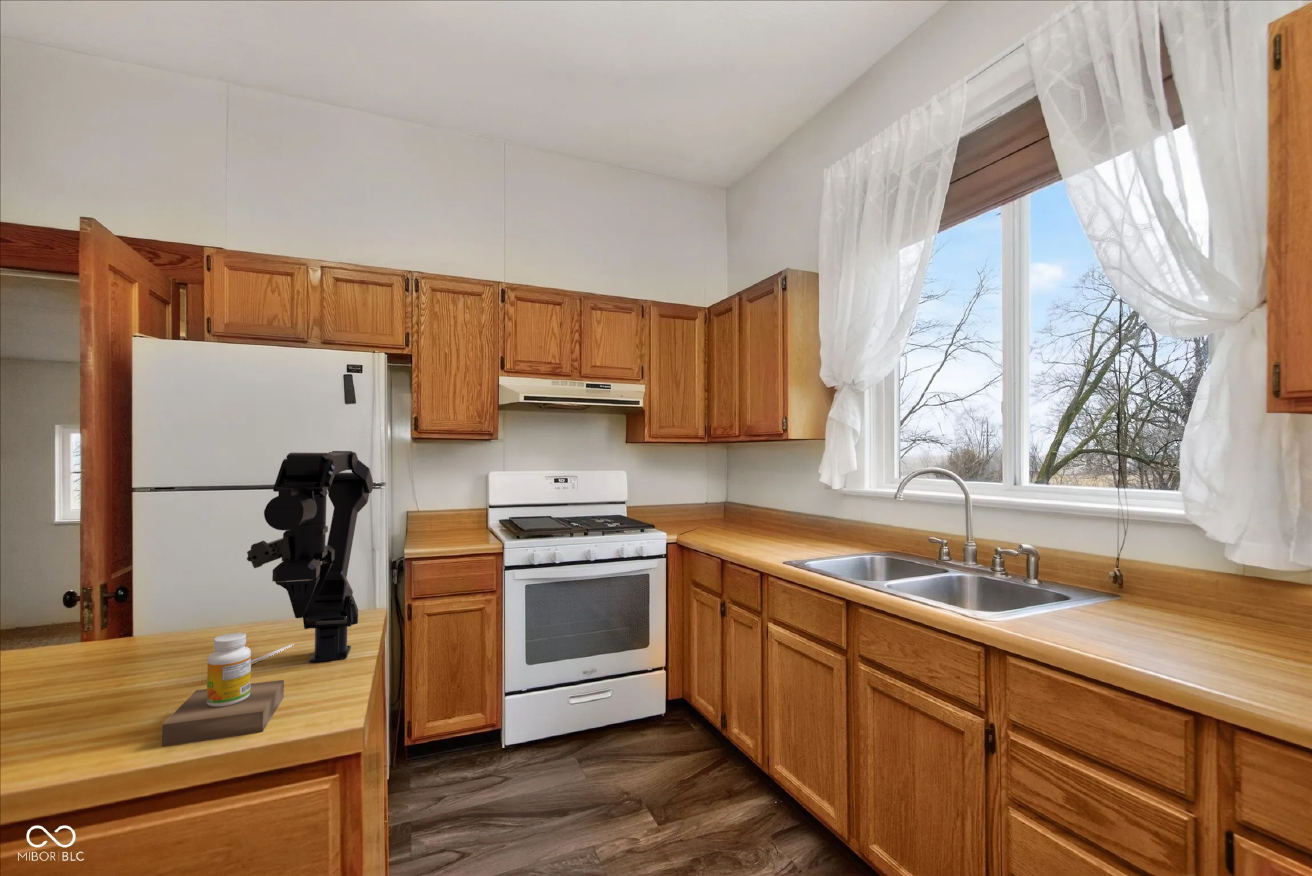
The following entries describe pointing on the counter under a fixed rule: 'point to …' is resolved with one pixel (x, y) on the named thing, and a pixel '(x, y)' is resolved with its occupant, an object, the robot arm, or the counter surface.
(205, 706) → the walnut base
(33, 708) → the counter surface
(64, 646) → the counter surface
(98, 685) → the counter surface
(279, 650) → the fork
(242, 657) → the supplement bottle
